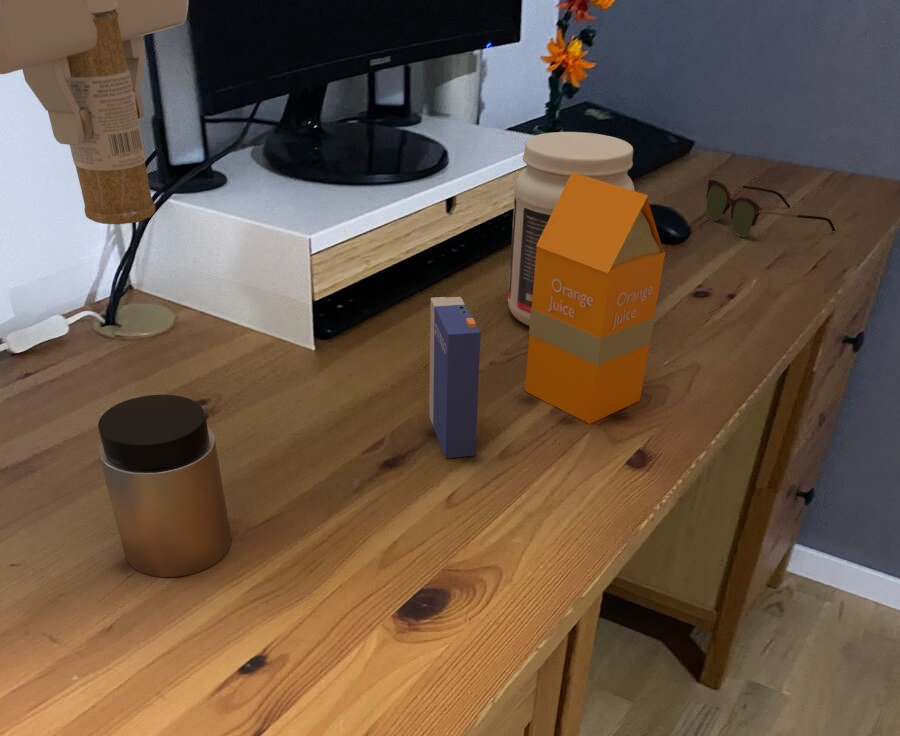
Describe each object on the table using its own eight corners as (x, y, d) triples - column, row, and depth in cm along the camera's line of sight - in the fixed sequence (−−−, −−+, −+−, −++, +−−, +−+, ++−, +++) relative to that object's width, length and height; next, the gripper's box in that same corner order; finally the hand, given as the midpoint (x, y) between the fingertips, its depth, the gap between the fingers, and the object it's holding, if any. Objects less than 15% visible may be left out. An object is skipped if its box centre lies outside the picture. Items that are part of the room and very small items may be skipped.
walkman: (475, 456, 82) (481, 327, 74) (445, 459, 81) (448, 330, 73) (457, 414, 87) (461, 291, 80) (428, 416, 87) (429, 293, 79)
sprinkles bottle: (138, 201, 63) (91, -37, 54) (168, 218, 60) (125, -30, 51) (73, 214, 60) (14, -33, 52) (102, 232, 58) (44, -25, 49)
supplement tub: (638, 328, 104) (667, 154, 92) (541, 346, 100) (557, 166, 88) (579, 288, 113) (598, 125, 101) (487, 303, 108) (495, 134, 97)
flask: (103, 565, 68) (67, 436, 61) (160, 508, 74) (132, 384, 67) (199, 587, 67) (173, 456, 60) (249, 526, 72) (231, 401, 65)
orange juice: (575, 369, 95) (600, 164, 83) (641, 400, 90) (678, 187, 78) (522, 391, 91) (540, 179, 79) (588, 425, 86) (618, 204, 74)
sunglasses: (699, 212, 137) (708, 176, 134) (781, 213, 142) (792, 179, 139) (750, 243, 127) (761, 206, 124) (838, 244, 131) (851, 207, 128)
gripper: (100, -157, 56) (145, 94, 65) (-157, -160, 41) (-53, 168, 50) (192, -155, 55) (225, 101, 64) (-39, -158, 40) (46, 178, 49)
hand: (102, 131), depth 57 cm, fingers closed on sprinkles bottle, 4 cm apart
